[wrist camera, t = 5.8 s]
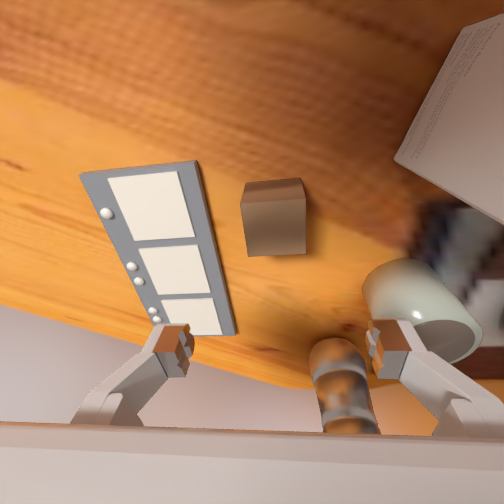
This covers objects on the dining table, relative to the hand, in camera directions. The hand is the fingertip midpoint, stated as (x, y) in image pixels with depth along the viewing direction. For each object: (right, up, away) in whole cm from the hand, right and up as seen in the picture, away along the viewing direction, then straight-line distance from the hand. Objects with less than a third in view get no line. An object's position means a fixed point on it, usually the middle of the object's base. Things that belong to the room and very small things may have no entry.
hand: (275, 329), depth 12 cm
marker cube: (+1, +8, +11) cm, 13 cm away
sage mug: (+14, 0, +14) cm, 20 cm away
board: (-9, +2, +15) cm, 18 cm away
